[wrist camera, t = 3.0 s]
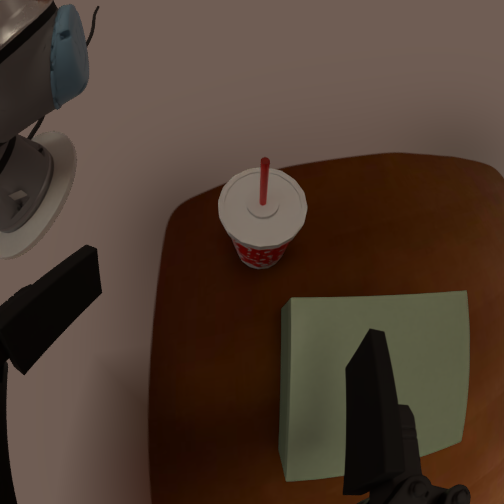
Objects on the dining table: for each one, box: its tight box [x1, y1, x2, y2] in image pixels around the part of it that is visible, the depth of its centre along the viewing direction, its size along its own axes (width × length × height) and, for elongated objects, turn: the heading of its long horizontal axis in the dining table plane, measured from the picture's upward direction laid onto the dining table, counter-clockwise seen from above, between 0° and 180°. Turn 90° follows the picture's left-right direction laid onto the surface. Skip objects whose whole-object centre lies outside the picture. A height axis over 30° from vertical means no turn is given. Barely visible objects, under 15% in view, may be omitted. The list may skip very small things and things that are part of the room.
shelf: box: [278, 290, 470, 481], centre depth 20 cm, size 14×16×7 cm
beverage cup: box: [218, 157, 307, 269], centre depth 21 cm, size 6×6×14 cm
